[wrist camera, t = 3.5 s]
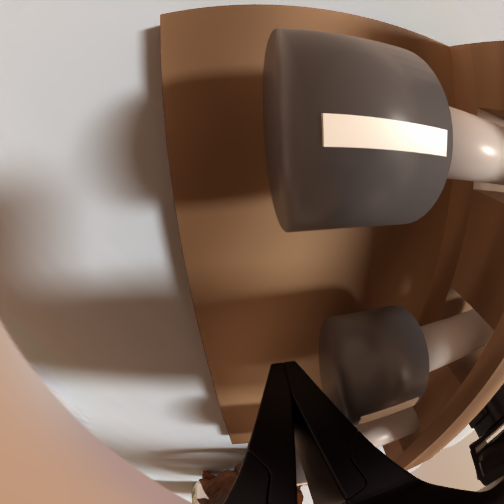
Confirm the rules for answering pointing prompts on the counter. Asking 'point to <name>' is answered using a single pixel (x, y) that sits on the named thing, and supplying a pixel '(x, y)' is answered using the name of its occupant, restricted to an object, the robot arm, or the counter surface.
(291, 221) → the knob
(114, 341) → the counter surface
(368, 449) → the robot arm
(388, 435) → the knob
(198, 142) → the panel
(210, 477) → the pottery mug
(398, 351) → the knob middle
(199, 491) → the syrup box
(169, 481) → the counter surface
